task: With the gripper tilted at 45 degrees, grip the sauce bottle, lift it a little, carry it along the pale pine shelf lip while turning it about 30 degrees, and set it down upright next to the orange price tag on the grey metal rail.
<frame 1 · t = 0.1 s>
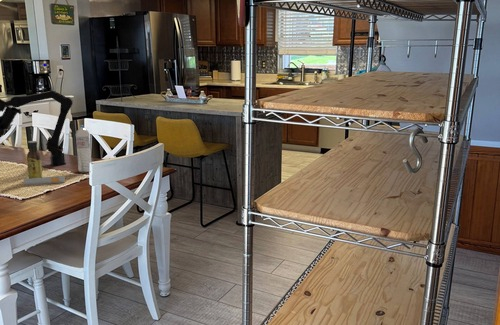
sauce bottle: (36, 181, 220), on the table
water bottle: (85, 171, 239), on the table
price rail: (44, 180, 215), on the table
shelf plank: (45, 180, 217), on the table
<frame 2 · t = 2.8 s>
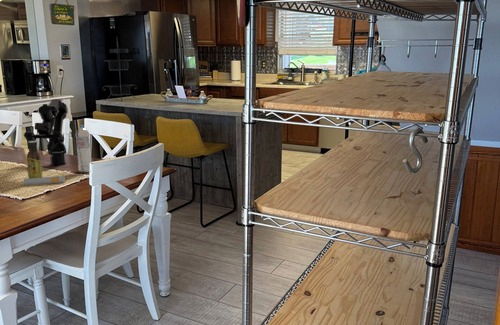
hand: (40, 150, 225), 14 cm above the table, tool tilted 45°, fingers open, 9 cm apart
nothing on the table moved.
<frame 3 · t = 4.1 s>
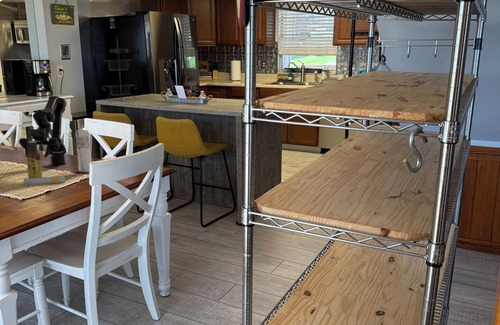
hand: (35, 157, 220), 11 cm above the table, tool tilted 45°, fingers open, 9 cm apart
nothing on the table moved.
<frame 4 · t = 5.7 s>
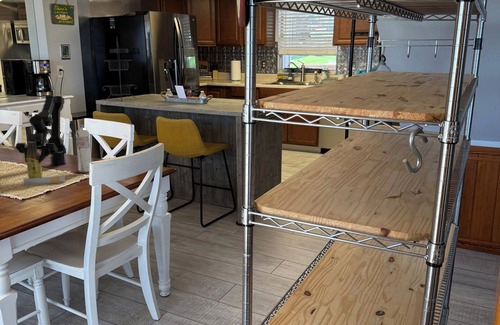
hand: (32, 162, 217), 10 cm above the table, tool tilted 45°, fingers closed on sauce bottle, 6 cm apart
sauce bottle: (36, 180, 220), on the table, touching gripper
everything else where it was.
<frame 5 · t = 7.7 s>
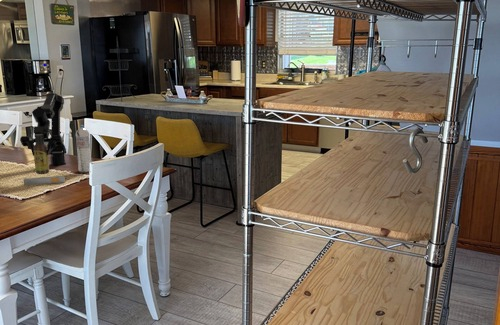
hand: (40, 155, 217), 13 cm above the table, tool tilted 45°, fingers closed on sauce bottle, 6 cm apart
sauce bottle: (43, 173, 221), point 3 cm above the table, touching gripper
everything else where it was.
when the fingers open (10 cm above the table, at t = 9.7 s): sauce bottle stays where it is, on the table.
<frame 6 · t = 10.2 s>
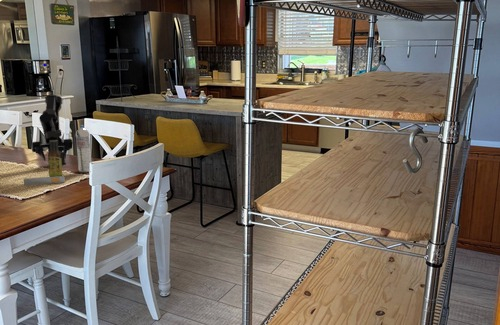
hand: (55, 159, 220), 11 cm above the table, tool tilted 45°, fingers open, 9 cm apart
sauce bottle: (56, 179, 223), on the table
everything else where it was.
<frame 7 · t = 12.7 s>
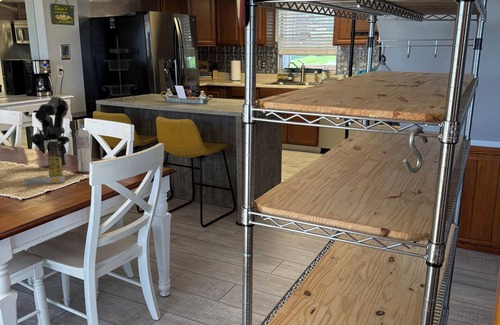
hand: (52, 154, 229), 11 cm above the table, tool tilted 30°, fingers open, 9 cm apart
nothing on the table moved.
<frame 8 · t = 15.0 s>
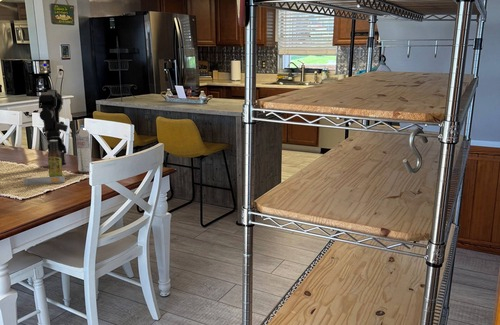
hand: (52, 147, 235), 13 cm above the table, tool pointing down, fingers open, 9 cm apart
nothing on the table moved.
at the end: sauce bottle 0.3 cm from the target spot, on the table; sauce bottle tilted 0°; the gripper is holding nothing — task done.
